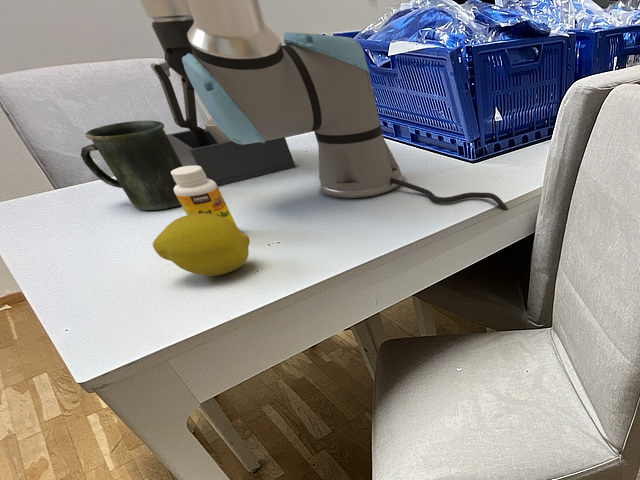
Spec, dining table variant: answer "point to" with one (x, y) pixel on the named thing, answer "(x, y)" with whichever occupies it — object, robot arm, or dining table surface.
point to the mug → (136, 162)
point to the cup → (215, 131)
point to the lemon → (203, 244)
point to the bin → (232, 157)
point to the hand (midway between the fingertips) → (236, 158)
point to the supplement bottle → (199, 192)
